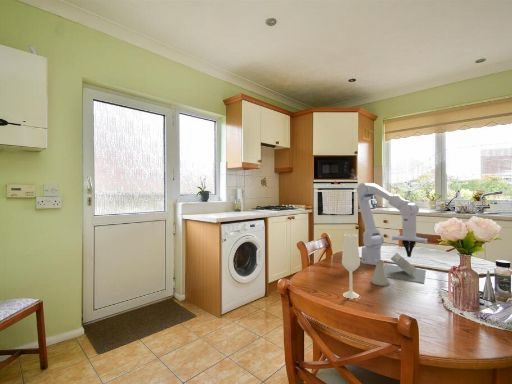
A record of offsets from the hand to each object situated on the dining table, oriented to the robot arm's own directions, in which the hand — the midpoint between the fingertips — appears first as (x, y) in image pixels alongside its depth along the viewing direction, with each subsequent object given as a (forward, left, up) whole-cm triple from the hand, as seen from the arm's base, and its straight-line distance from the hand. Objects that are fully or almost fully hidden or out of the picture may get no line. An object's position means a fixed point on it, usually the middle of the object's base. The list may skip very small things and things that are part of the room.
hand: (409, 256), depth 125 cm
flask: (-10, -20, -9) cm, 24 cm away
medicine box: (+1, 0, -6) cm, 7 cm away
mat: (-3, -1, -8) cm, 9 cm away
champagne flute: (-17, -40, -9) cm, 44 cm away
